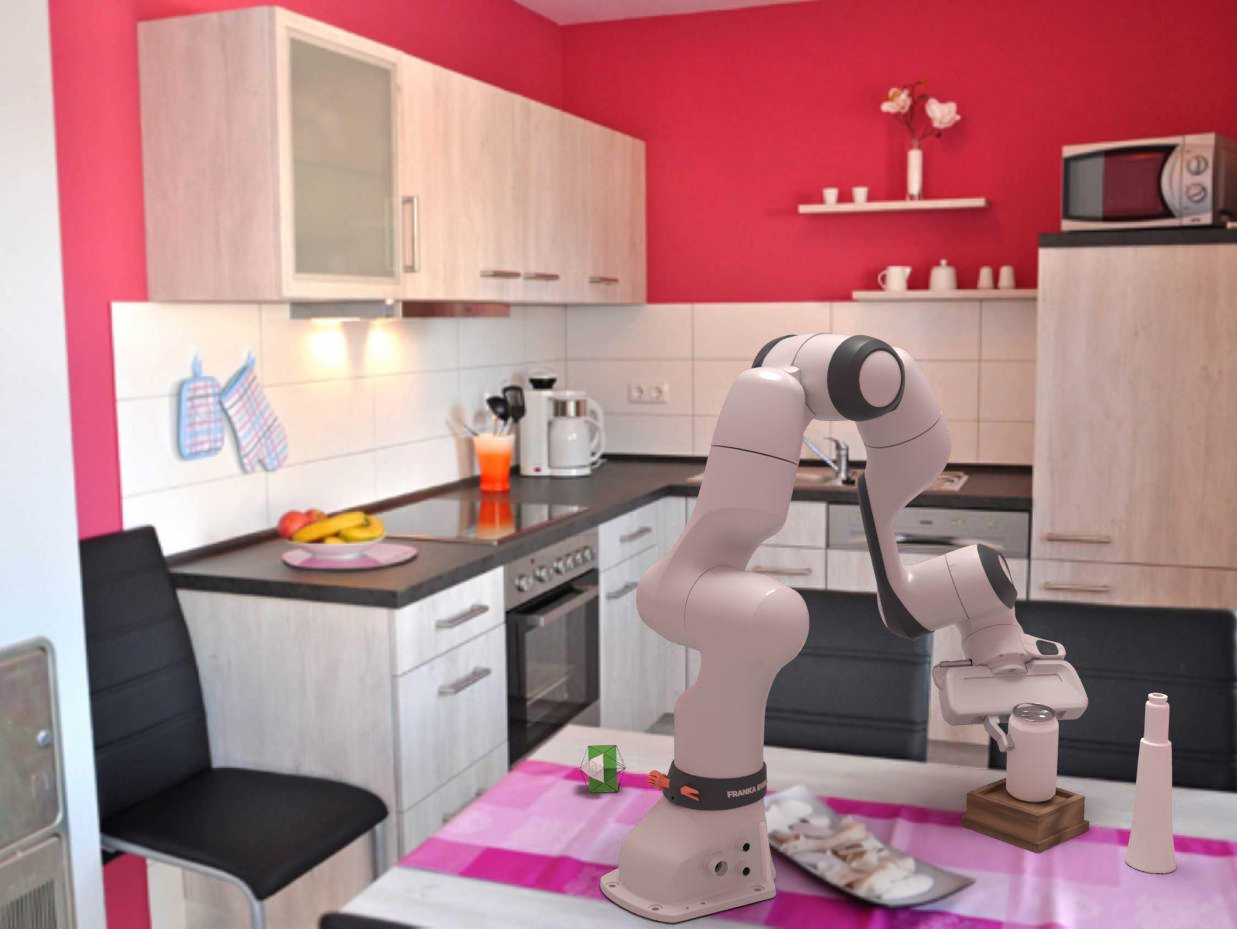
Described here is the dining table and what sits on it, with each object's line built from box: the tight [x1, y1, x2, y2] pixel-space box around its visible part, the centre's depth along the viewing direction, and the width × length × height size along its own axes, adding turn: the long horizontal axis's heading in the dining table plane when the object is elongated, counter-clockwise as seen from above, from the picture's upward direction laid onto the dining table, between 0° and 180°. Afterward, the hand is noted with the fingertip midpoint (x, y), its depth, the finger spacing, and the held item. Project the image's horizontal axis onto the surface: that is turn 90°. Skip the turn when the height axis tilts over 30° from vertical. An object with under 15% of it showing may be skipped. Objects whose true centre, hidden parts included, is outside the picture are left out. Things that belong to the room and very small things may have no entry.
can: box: [1005, 703, 1060, 803], centre depth 177 cm, size 6×6×12 cm
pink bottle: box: [1124, 692, 1177, 875], centre depth 165 cm, size 6×6×22 cm
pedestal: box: [960, 777, 1090, 854], centre depth 178 cm, size 12×12×5 cm
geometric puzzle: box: [578, 744, 628, 793], centre depth 193 cm, size 7×7×8 cm
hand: (1028, 748), depth 176 cm, fingers open, 4 cm apart
